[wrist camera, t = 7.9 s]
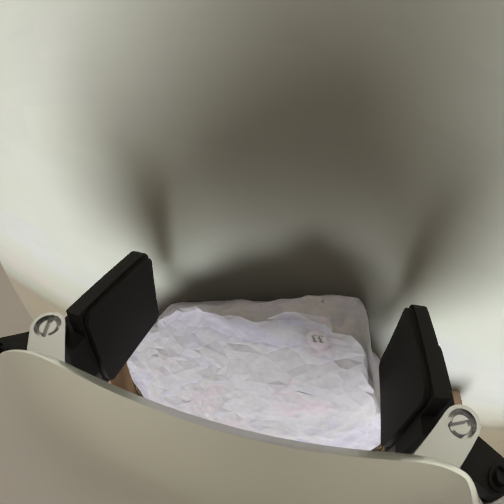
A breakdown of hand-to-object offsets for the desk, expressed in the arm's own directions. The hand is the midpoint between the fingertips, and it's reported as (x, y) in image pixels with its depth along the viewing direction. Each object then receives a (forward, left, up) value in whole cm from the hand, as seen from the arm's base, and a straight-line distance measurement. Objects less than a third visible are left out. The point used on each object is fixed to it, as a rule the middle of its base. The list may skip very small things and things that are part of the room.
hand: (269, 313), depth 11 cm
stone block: (+5, 0, -2) cm, 5 cm away
